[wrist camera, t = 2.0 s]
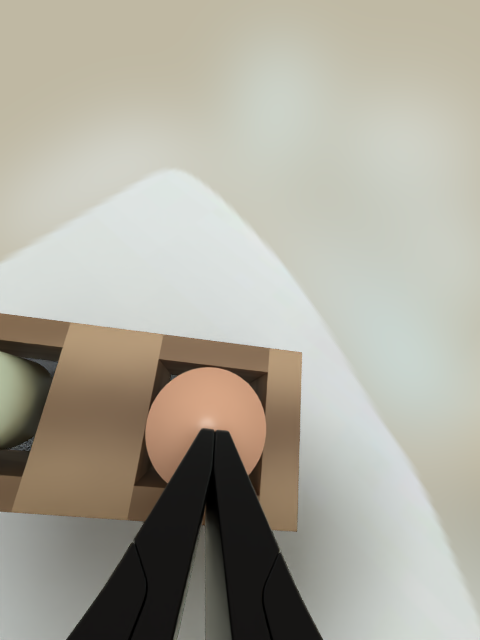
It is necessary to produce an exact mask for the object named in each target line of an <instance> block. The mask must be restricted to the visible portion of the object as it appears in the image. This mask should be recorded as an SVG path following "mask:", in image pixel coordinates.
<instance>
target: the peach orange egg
mask: <svg viewBox="0 0 480 640" xmlns="http://www.w3.org/2000/svg"><path fill="white" fill-rule="evenodd" d="M202 428H208V429H214V430H215V431H216V430H227V431H229V432H230V434H231V437H232V439H233V441H234V444H235V446H236V448H237V451H238V453H239V455H240V458H241V460H242V462H243V465H244V467H245V469H246V472H247V474H248V475H249V474H250V473H251V472H252V470H253V469H254V467H255V466H256V464H257V462H258V461H259V459H260V456H261V454H262V451H263V448H264V444H265V438H266V419H265V414H264V410H263V407H262V404H261V402H260V400H259V398H258V396H257V394H256V393H255V391H254V390H253V389H252V387H251V386H250V385H249V384H248V383H247V382H246V381H244V380H243V379H242V378H241V377H239V376H238V375H236V374H234V373H232V372H230V371H227V370H224V369H220V368H212V367H205V368H197V369H193V370H190V371H187V372H185V373H183V374H180V375H179V376H177V377H176V378H174V379H173V380H171V381H170V382H169V383H168V384H167V385H166V386H165V387H164V388H163V389H162V390H161V391H160V393H159V394H158V395H157V397H156V398H155V400H154V402H153V404H152V406H151V408H150V411H149V414H148V418H147V422H146V429H145V439H146V447H147V451H148V455H149V458H150V460H151V463H152V465H153V466H154V468H155V470H156V471H157V473H158V474H159V475H160V476H161V478H162V479H163V480H165V481H166V482H167V483H168V482H169V481H170V479H171V477H172V476H173V474H174V472H175V471H176V469H177V467H178V466H179V464H180V462H181V461H182V459H183V458H184V456H185V454H186V453H187V451H188V449H189V448H190V446H191V444H192V443H193V441H194V439H195V438H196V436H197V434H198V433H199V431H200V430H201V429H202Z"/></svg>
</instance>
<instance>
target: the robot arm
mask: <svg viewBox="0 0 480 640" xmlns="http://www.w3.org/2000/svg"><path fill="white" fill-rule="evenodd" d="M205 506H206V509H205ZM204 511H205V640H323V638H322V637H321V635H320V633H319V631H318V629H317V627H316V625H315V623H314V621H313V619H312V617H311V615H310V614H309V612H308V610H307V608H306V606H305V604H304V602H303V600H302V598H301V596H300V594H299V591H298V589H297V587H296V585H295V583H294V580H293V578H292V576H291V574H290V572H289V569H288V567H287V565H286V562H285V560H284V558H283V555H282V553H279V551H280V549H279V546H278V544H277V542H276V539H275V537H274V535H273V532H272V530H271V528H270V525H269V523H268V521H267V518H266V516H265V514H264V511H263V509H262V507H261V504H260V502H259V500H258V497H257V495H256V493H255V490H254V488H253V486H252V483H251V481H250V479H249V476H248V474H247V472H246V469H245V467H244V465H243V462H242V460H241V458H240V455H239V453H238V451H237V448H236V446H235V444H234V441H233V439H232V437H231V434H230V432H229V431H227V430H216V431H215V430H214V429H208V428H202V429H201V430H200V431H199V433H198V434H197V436H196V438H195V439H194V441H193V443H192V444H191V446H190V448H189V449H188V451H187V453H186V454H185V456H184V458H183V459H182V461H181V462H180V464H179V466H178V467H177V469H176V471H175V472H174V474H173V476H172V477H171V479H170V481H169V482H168V484H167V486H166V487H165V489H164V491H163V492H162V494H161V495H160V497H159V499H158V500H157V502H156V504H155V505H154V507H153V509H152V510H151V512H150V514H149V515H148V517H147V519H146V520H145V522H144V524H143V525H142V527H141V528H140V530H139V532H138V533H137V535H136V537H135V538H134V543H131V545H130V546H129V548H128V550H127V551H126V553H125V555H124V556H123V558H122V559H121V561H120V563H119V564H118V566H117V567H116V569H115V570H114V572H113V574H112V575H111V577H110V578H109V580H108V581H107V583H106V584H105V586H104V588H103V589H102V590H101V592H100V593H99V595H98V596H97V598H96V599H95V600H94V602H93V603H92V605H91V606H90V608H89V609H88V610H87V612H86V613H85V615H84V616H83V617H82V619H81V620H80V622H79V623H78V624H77V626H76V627H75V628H74V630H73V631H72V632H71V634H70V635H69V636H68V638H67V639H66V640H177V637H178V632H179V628H180V623H181V619H182V614H183V609H184V605H185V600H186V595H187V591H188V586H189V582H190V577H191V572H192V568H193V563H194V558H195V554H196V549H197V545H198V540H199V535H200V531H201V526H202V521H203V516H204ZM278 553H279V554H278Z"/></svg>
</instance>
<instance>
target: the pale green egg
mask: <svg viewBox="0 0 480 640" xmlns="http://www.w3.org/2000/svg"><path fill="white" fill-rule="evenodd" d="M52 380H53V378H52V377H51V375H50V373H49V372H48V371H47V370H46V369H45V368H44V367H43V366H41V365H40V364H38V363H36V362H34V361H31V360H27V359H24V358H21V357H18V356H14V355H11V354H8V353H4V352H1V351H0V450H4V449H8V448H12V447H15V446H18V445H20V444H22V443H24V442H26V441H27V440H29V439H30V438H32V437H33V436H34V435H35V434H36V431H37V428H38V425H39V422H40V419H41V415H42V412H43V409H44V406H45V403H46V399H47V396H48V393H49V390H50V387H51V383H52Z"/></svg>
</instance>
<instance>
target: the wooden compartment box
mask: <svg viewBox="0 0 480 640" xmlns="http://www.w3.org/2000/svg"><path fill="white" fill-rule="evenodd" d="M0 351H1V352H4V353H8V354H11V355H14V356H18V357H25V358H34V359H42V360H51V361H58V364H57V368H56V371H55V374H54V377H53V380H52V383H51V387H50V390H49V393H48V396H47V399H46V403H45V406H44V409H43V412H42V415H41V419H40V422H39V425H38V428H37V431H36V435H35V438H34V441H33V444H32V447H31V451H20V450H9V449H4V450H0V512H14V513H28V514H43V515H58V516H73V517H88V518H102V519H117V520H132V521H145V520H146V519H147V517H148V515H149V514H150V512H151V510H152V509H153V507H154V505H155V504H156V502H157V500H158V499H159V497H160V495H161V494H162V492H163V491H164V489H165V487H166V486H167V484H168V483H167V482H166V481H165V480H163V479H162V478H161V476H160V475H159V474H158V473H157V471H156V470H155V468H154V466H153V465H152V463H151V460H150V458H149V455H148V451H147V447H146V439H145V429H146V422H147V418H148V414H149V411H150V408H151V406H152V404H153V402H154V400H155V398H156V397H157V395H158V394H159V393H160V391H161V390H162V389H163V388H164V387H165V386H166V385H167V384H168V383H169V382H170V377H171V375H180V374H183V373H185V372H187V371H190V370H193V369H197V368H205V367H212V368H220V369H224V370H227V371H230V372H232V373H234V374H236V375H238V376H239V377H241V378H242V379H243V380H244V381H246V382H247V383H248V384H249V385H250V386H251V387H252V389H253V390H254V391H255V393H256V394H257V396H258V398H259V400H260V402H261V404H262V407H263V410H264V414H265V419H266V438H265V444H264V448H263V451H262V454H261V456H260V459H259V461H258V462H257V464H256V466H255V467H254V469H253V470H252V472H251V473H250V474H249V475H248V476H249V479H250V481H251V483H252V486H253V488H254V490H255V493H256V495H257V497H258V500H259V502H260V504H261V507H262V509H263V511H264V514H265V516H266V518H267V521H268V523H269V525H270V528H271V530H280V531H295V532H297V514H298V477H299V441H300V405H301V368H302V352H295V351H287V350H279V349H271V348H264V347H256V346H248V345H240V344H233V343H225V342H217V341H210V340H202V339H194V338H186V337H179V336H171V335H163V334H156V333H148V332H140V331H132V330H125V329H117V328H109V327H102V326H94V325H86V324H78V323H71V322H63V321H55V320H47V319H40V318H32V317H24V316H17V315H9V314H1V313H0ZM205 509H206V506H205ZM202 525H205V511H204V516H203V521H202Z"/></svg>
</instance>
